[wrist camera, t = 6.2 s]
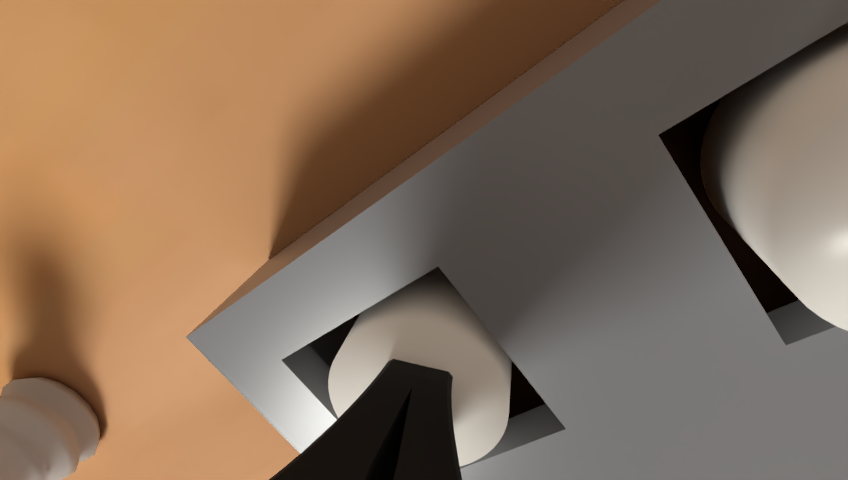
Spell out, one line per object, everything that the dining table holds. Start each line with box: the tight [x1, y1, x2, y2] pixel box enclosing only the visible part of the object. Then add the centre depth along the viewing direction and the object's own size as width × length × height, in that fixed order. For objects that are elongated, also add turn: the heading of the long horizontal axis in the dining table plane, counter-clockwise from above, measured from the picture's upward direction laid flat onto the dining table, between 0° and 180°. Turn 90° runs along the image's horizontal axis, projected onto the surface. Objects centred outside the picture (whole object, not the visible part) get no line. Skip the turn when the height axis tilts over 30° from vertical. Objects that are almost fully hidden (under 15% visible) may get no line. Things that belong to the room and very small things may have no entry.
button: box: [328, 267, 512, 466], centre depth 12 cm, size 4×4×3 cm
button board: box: [187, 0, 848, 480], centre depth 12 cm, size 17×17×4 cm
